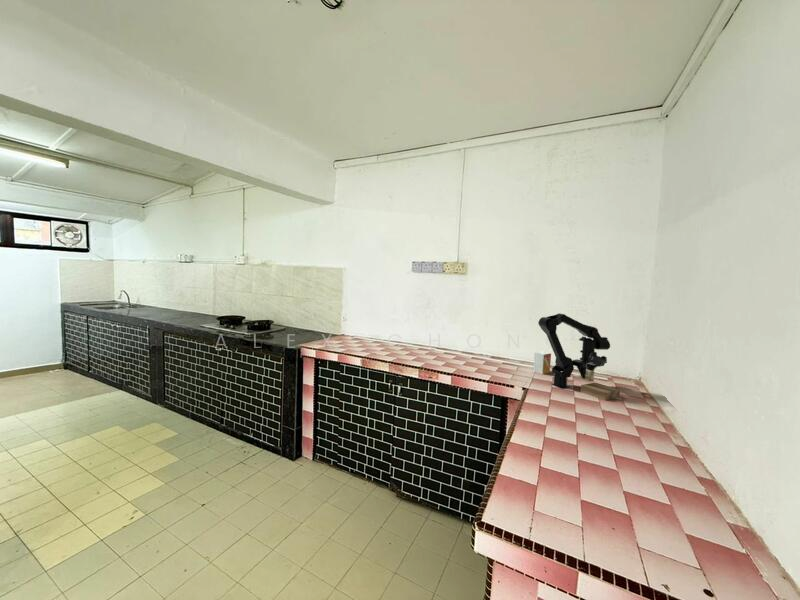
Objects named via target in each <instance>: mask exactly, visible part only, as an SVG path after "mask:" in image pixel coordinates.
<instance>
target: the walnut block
mask: <svg viewBox="0 0 800 600" xmlns="http://www.w3.org/2000/svg"><path fill="white" fill-rule="evenodd" d="M579 391H580V393H582V394H586V395H588V396H591V397H594V398H596V399H600V400H602V401H608V400H614V399H617V398H621V397H620V396H621V395H620V394H621V390H620V389H618V388H615V387H613V386H608V385H605V384H602V383H599V382H596V381H595V382H591V383H586V384H581V385H580V390H579Z"/></svg>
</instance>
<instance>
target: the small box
mask: <svg viewBox="0 0 800 600" xmlns="http://www.w3.org/2000/svg"><path fill="white" fill-rule="evenodd" d="M533 354H534V355H533V356H534V357H533V369H532V370H533V372H535V373H538V374H541V375H545V374H549V373H551V362H552V361H551V358H552V353H551V352H547V351H542V350H541V351H536V352H534V353H533Z"/></svg>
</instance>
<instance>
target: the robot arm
mask: <svg viewBox="0 0 800 600" xmlns="http://www.w3.org/2000/svg"><path fill="white" fill-rule="evenodd" d="M537 324H538V325H539V327H540V329H541V330H542V331H543V332H544V333H545V335H546V337H547V339H548V342H549V345H550V347H551V349H552V352H553V353H554V356H555V365H554V366H553V367H552V368H550V371H551V373H552V374H553V375H554V377H553V383H551V384H550V385H552V386H554V387H557V388H559V389H567V388H570V385H568V378H571V375H572V373H573V372H574V370H575V367H576V368H577V370H578V372H580V374H581V376H582V378H585V374H586V369H587V370H591V371H594V372H595V369H596V368H599V367H604V366H605V364H607V363H608V362H607V361H608V357H607V356H605V355H603V356H598V354H597V352H596V350H599V351H601V350H605V351H607V350H609V349H610V348H611V343H610V341H609V338H608V337H606V336H601V335H600V332H599V329H598V328H597V327H595V326H592V325H588V324H583V323H582V322H579V321H578V320H576V319H573V318H571V317H570V316H568V315H567V314H565V313H557V314H553V315H549V316H543V317H542V316H541V318H540V319H539V320H538V323H537ZM561 324H565V325H566V326H569V327H571V328H573V329H575V330H577V332H578V333H580V334H581V335H582V337H580V338H579V339H578V340H579V341H581V342H582V348H581V350H580V353H581V357H580V358H579V359H578V358H577V359H572V358H571V357H569V356H567V355H566V353H565V351H564V349H563V347H562V344H561V341H560V339H559V337H558V334H557V327H558V326H559V325H561Z"/></svg>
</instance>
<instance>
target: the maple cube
mask: <svg viewBox="0 0 800 600" xmlns="http://www.w3.org/2000/svg"><path fill="white" fill-rule="evenodd" d="M578 372H579V371H578ZM578 379H579V380H581V381H585V382H588V383H589V382H593V381H594V380H595V370H594V371H591V370H587V369H586V374H585V378H582V376H581V374H580V372H579V373H578Z"/></svg>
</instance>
